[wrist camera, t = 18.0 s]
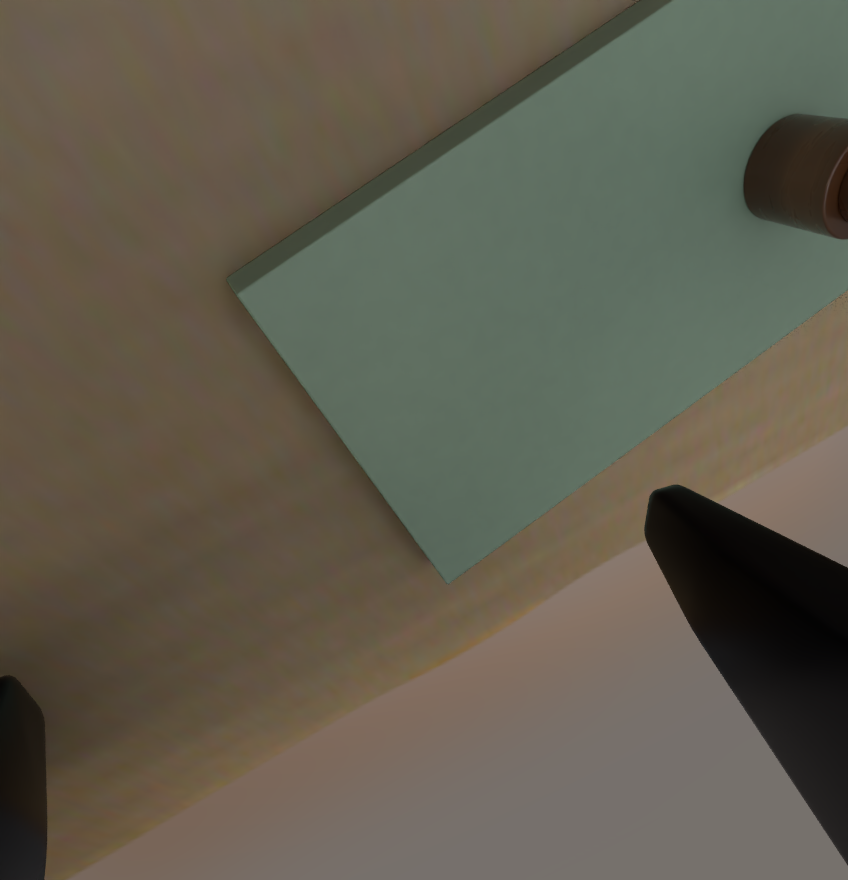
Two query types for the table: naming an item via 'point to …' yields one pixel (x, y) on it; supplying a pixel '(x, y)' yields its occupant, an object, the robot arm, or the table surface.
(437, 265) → the board
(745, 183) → the stirrer
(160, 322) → the table surface
